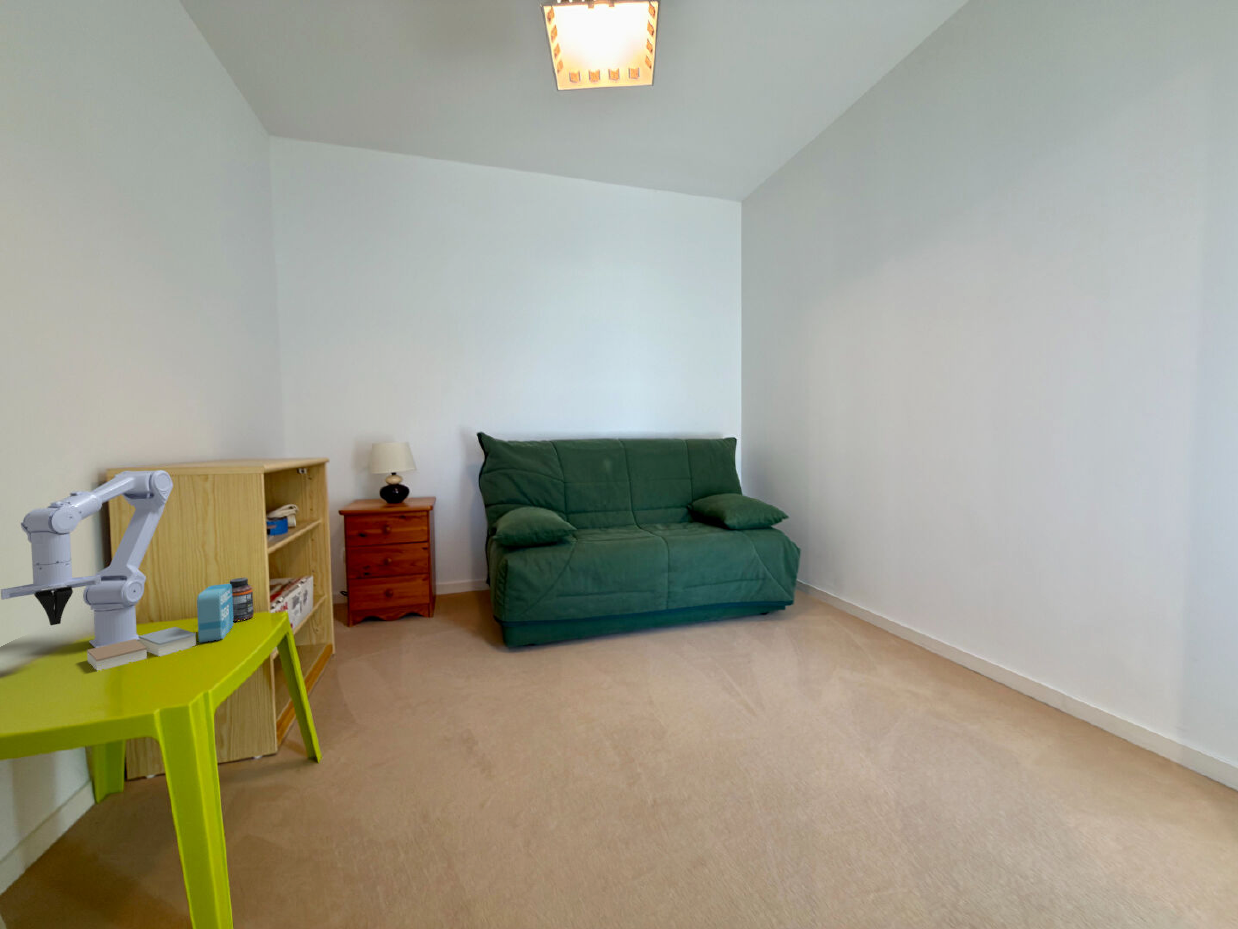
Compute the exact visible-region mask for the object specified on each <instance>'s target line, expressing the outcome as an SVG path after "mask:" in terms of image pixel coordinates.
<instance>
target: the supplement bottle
mask: <svg viewBox="0 0 1238 929" xmlns="http://www.w3.org/2000/svg"><path fill="white" fill-rule="evenodd" d="M229 584H231V585H232V600H233V621H238V620H244V619H248V620H250V619H251V617H252V618H254V597H253V594H254V593H253V586H252V585H250V584H249V582H248V578H247V577H237V578H233V579H230V580H229ZM249 618H250V619H249Z"/></svg>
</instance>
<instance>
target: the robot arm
mask: <svg viewBox="0 0 1238 929" xmlns="http://www.w3.org/2000/svg"><path fill="white" fill-rule="evenodd" d="M173 487H174V482H173V481H172V478H171V476H170V474H169V473H168V472H167V471H165V470H162V469H161V470H160V469H159V470H158V469H157V470H144V471H143V470H142V471H141V470H140V471H139V470H137V471H131V470H125V471H121V472H119V473H117V474H114V477H113V478H112V479H110V480H109V481H106V482H104V483H103V484H101V485H99V486H98V487H96V488H95V489H93V490H91V491H87V490H86V491H85V490H74V491H72V492H70V493H69V496H67V497H65V498H63V499H61V500H59V501H56V500H55V501H53V502H51V503H50V505H49V506H47V507H45V508H43V507H42V508H41V507H40V508H34V509H32V510H31V511H29V512H28V513H26V514H25V516H24V518H23V519H22V522H20V527H21V530H22V531H23V532H24V533H25V534H26V535H27V541H29V543H30V545H31V565H32V566H31V567H32V583H30V584H25V585H19V586H13V587H7V588H2V589H0V599H1V600H10V599H11V598H12V599H13V598H18V597H23V596H31V595H33V596H34V597H35V598H36V600H38V602H39V604H40V605H41V606H42V608H43V610H44V611H45V613H46V616H47V618H48V622H49V625H50V626H55V625H60V624H61V622H62V617H63V614H64V611H65V609H66V606H67V604H68V602H69V600H70V598H71V597H72V596H73V593H74V590H73V589H75V588H82V587H85V588H84V589H83V592H82V598H83V601H84V603H85V604H86V605H87V606H89V607H90V610H93V613H94V615H93V616H94V617H93V623H94V624H93V625H94V639H91V640H89V641H88V642H89V643H90V644H91V646H93V647H94V648H98V647H102V646H106V645H111V644H115V643H119V642H124V641H128V640H132V639H136V640H137V641H140V640H139V636H140V635H139V634H138V633H137V619H136V618H137V616H136V604H139V601H140V600H141V598H142V597H143V595H144V591H145V583H146V580H147V577H146V575H145V574H144V573H143V572H142V571H140V570H139V568H140V566H141V563H142V562H143V559H144V557H145V554H146V552H147V550H148V548H149V545H150V543H151V541H152V539H153V536H154V534H155V532H156V529H157V526H158V525H159V521H160V520H161V518H162V515H163V513H164V510H165V506H166V504H167V502H168V498H169V496H170V494H171V492H172V489H173ZM119 496H122V497H123V499H125V501H126V502H127V503H128V504H129V505H130V506H132V507H134V508H135V510H134V512H133V514H132V517H131V519H130V520H129V523H128V526H127V527H126V530H125V531H124V534H123V536H122V538H121V541H119V542H120V543H119V545H118V547H117V549H116V552H115V554H114V555H113V558H112V560H111V562H110V565H109V566H107V567H105V568H104V569H102V570H100V571H98V572H97V573H96V574H95V575H89V576H79V577H73V569H72V568H73V566H72V548H71V547H72V546H71V532H73V531H75V529H76V528H77V526H78V524H79V523H80V522H81V521H82V520H84V519H86V518H88V517H91V516H92V515H93V514H95V513H98V512H99V511H100V510H101V508H102V507H103V505H102V504H104V503H106V502H108V501H111V500H113V499H115V498H117V497H119Z"/></svg>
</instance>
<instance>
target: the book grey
mask: <svg viewBox="0 0 1238 929" xmlns="http://www.w3.org/2000/svg"><path fill="white" fill-rule="evenodd" d="M196 636H197V633H196V632H191V631H189V630H186V629H183V628H180V627H177V626H174V627H169V628H166V629H162V630H161V629H160V630H158V631H154V632H150V633H146V634H143V635H139V640H138V641H139V642H140V643H141V644H143V645H144V646H145V647H147V653H148V654H152V655H155V656H158V657H159V656H160V657H163V656H167V655H170V654H173V652H174V653H177V652H179V650H181V651H184V650H187V649H191V648H193V647H192V646H195V645H196V646H197V640H196ZM196 646H195V647H196ZM190 647H191V648H190Z"/></svg>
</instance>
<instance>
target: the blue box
mask: <svg viewBox="0 0 1238 929" xmlns="http://www.w3.org/2000/svg"><path fill="white" fill-rule="evenodd" d="M196 606H197V607H196V608H197V609H196V610H197V630H198V634H197V636H198V642H199V643H207V642H208V641H209V642H214V640H216V641H221V640H220V639H222V640H224V639H225V637H226V636H227V635H228V634H229V633H230V631H231V630H232V629H233V627H234V622H233V600H232V585H231V584H230V583H224V584H223V583H222V584H214V585H209V586H208V587H207V588H205V589H204V590H203V591H201V592H200V593H199V594H198V595H197V599H196ZM232 626H233V627H232ZM231 628H232V629H231ZM230 629H231V630H230ZM227 633H228V634H227ZM226 634H227V635H226Z"/></svg>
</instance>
